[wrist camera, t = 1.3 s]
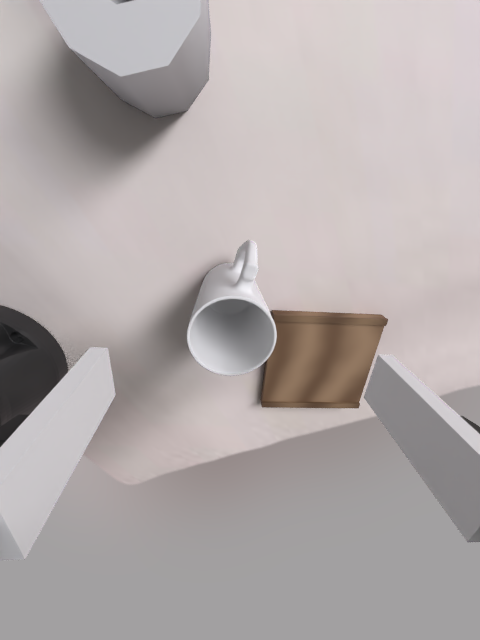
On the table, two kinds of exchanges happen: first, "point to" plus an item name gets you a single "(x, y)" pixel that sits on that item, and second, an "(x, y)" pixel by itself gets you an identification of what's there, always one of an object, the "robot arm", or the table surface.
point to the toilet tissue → (140, 47)
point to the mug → (232, 318)
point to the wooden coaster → (320, 359)
